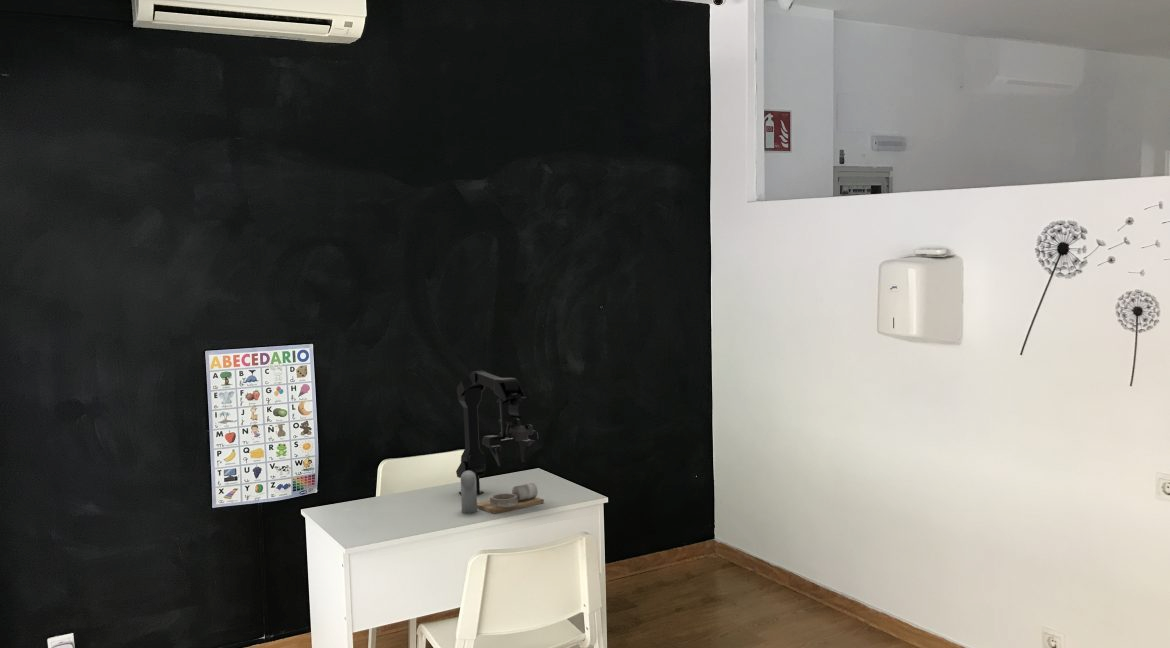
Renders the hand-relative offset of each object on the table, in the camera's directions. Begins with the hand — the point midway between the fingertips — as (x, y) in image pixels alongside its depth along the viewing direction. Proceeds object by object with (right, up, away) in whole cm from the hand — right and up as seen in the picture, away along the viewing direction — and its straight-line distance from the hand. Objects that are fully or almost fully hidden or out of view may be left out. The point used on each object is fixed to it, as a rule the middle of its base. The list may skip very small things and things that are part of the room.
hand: (511, 463), depth 297 cm
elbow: (-14, -15, -3) cm, 21 cm away
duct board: (-1, -14, +4) cm, 15 cm away
